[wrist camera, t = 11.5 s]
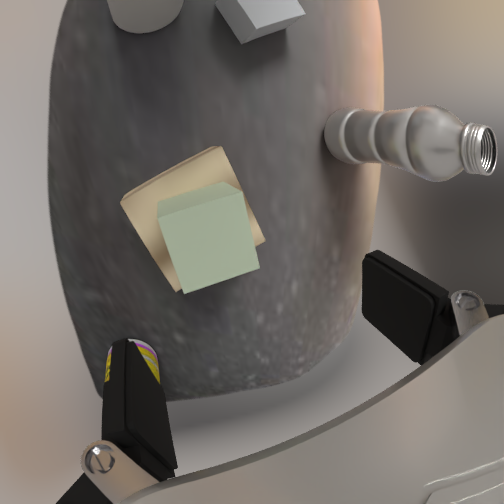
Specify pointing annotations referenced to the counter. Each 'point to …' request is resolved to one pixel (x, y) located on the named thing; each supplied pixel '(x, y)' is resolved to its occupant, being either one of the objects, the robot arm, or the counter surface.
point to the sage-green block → (208, 235)
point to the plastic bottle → (412, 141)
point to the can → (144, 14)
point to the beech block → (172, 184)
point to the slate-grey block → (258, 16)
